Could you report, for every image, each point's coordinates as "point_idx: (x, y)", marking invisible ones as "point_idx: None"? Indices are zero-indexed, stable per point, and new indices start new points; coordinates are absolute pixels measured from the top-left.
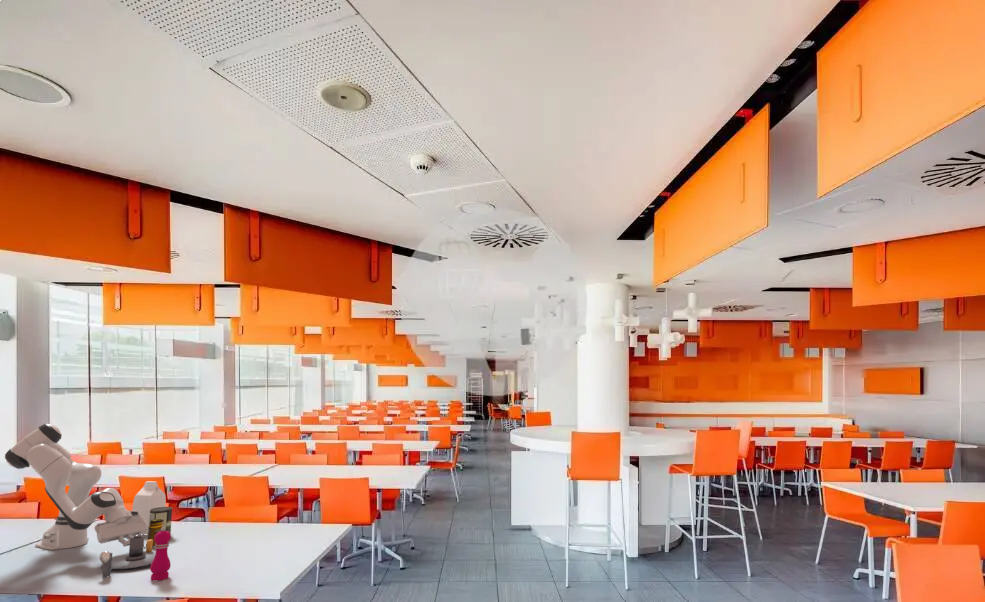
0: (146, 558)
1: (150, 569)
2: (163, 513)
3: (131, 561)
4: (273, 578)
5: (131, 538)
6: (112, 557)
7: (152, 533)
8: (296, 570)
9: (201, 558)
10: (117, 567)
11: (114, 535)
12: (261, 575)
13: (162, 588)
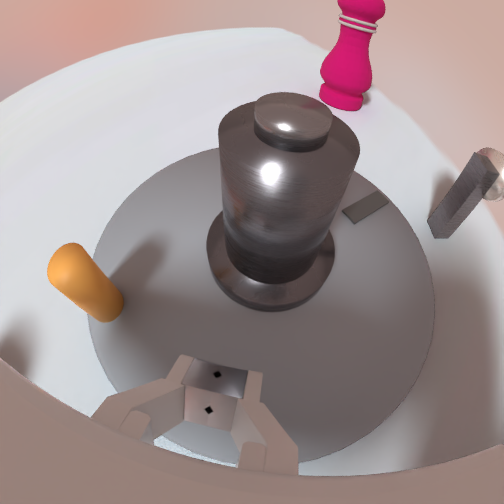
0: None
1: (370, 85)
2: None
3: None
4: (245, 32)
5: (352, 146)
6: (310, 443)
7: None
8: (205, 31)
9: (144, 112)
10: (406, 221)
11: (412, 479)
12: (239, 37)
13: None
